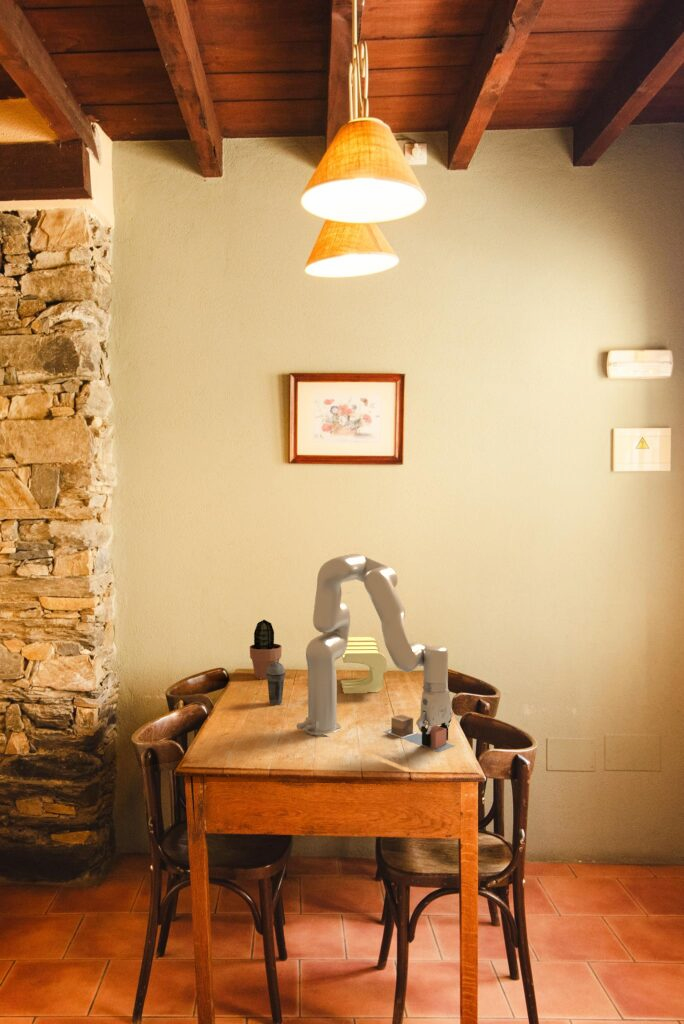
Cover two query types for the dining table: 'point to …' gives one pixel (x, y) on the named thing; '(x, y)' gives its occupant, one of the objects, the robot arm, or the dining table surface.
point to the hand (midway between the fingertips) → (435, 742)
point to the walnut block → (402, 725)
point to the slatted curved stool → (367, 654)
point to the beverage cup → (275, 682)
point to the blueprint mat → (419, 740)
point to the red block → (437, 736)
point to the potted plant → (264, 649)
